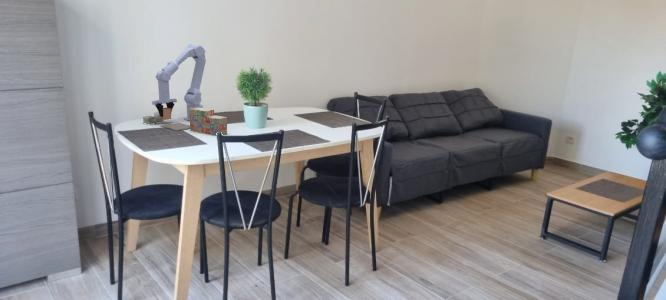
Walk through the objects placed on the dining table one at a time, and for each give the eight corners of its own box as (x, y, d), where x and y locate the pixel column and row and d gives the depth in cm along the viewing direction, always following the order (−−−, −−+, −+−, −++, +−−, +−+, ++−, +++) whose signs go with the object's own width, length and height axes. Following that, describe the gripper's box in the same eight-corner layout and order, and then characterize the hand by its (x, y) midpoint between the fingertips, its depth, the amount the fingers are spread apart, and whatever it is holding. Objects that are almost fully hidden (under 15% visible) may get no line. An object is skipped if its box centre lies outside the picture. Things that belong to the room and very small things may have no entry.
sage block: (151, 122, 278) (151, 115, 277) (156, 123, 275) (155, 117, 274) (143, 123, 274) (142, 116, 273) (147, 125, 271) (147, 118, 270)
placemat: (179, 123, 276) (179, 122, 276) (195, 128, 267) (195, 127, 267) (160, 126, 267) (160, 125, 267) (176, 131, 258) (176, 130, 258)
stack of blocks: (227, 134, 255) (227, 111, 252) (219, 136, 250) (218, 113, 247) (198, 129, 265) (197, 106, 262) (189, 130, 260) (188, 108, 257)
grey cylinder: (160, 120, 284) (160, 112, 283) (165, 121, 281) (164, 113, 280) (152, 121, 280) (152, 112, 279) (157, 122, 277) (156, 114, 276)
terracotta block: (166, 117, 279) (166, 107, 277) (171, 118, 276) (170, 108, 275) (159, 118, 276) (159, 108, 274) (164, 119, 273) (163, 109, 271)
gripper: (171, 90, 280) (172, 113, 283) (148, 92, 269) (149, 116, 272) (178, 91, 276) (179, 115, 279) (155, 94, 265) (156, 118, 268)
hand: (165, 116), depth 275 cm, fingers closed on terracotta block, 4 cm apart
